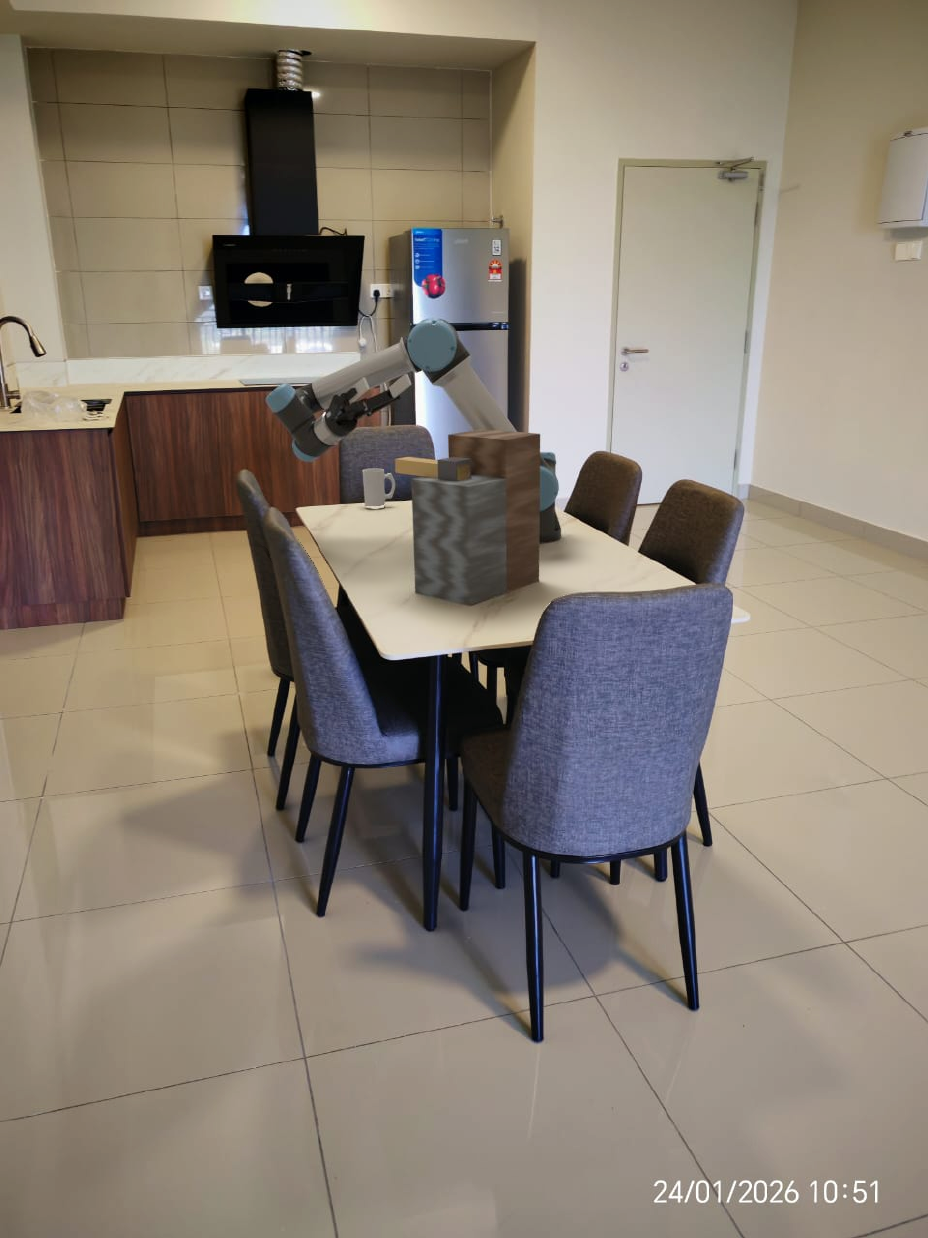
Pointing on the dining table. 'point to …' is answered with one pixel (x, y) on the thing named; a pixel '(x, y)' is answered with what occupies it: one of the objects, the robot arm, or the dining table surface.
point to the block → (435, 467)
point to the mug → (376, 486)
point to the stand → (479, 519)
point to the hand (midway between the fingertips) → (388, 380)
